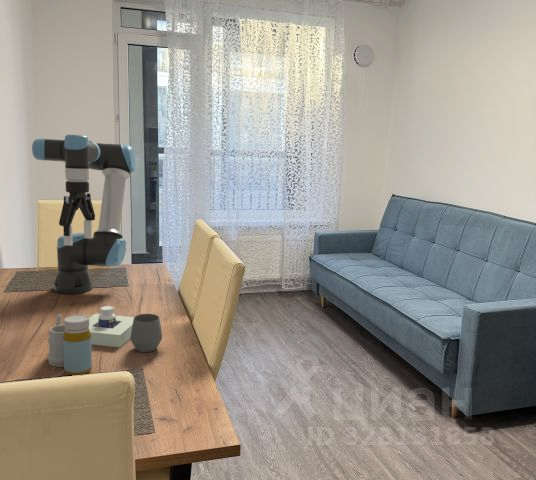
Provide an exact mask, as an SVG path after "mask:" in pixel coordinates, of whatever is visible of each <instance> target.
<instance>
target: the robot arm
mask: <svg viewBox="0 0 536 480" xmlns="http://www.w3.org/2000/svg"><path fill="white" fill-rule="evenodd" d="M31 152H32V155H33V157H34V159H36V160H39V161H44V162H45V161H51V162H52V161H53V162H60V163H61V162H62V163H64V165H65V166H64V169H65V170H64V173H65V180H66V181H65V191H66V193H69V195H68V196H67V195H65V196H63V204H62V209H61V212H60V217H59V221H58V226H60V227H63V228H62V229H63V230H62V231H63V235H61V236H59V237H58V238H57V241H56V243H57V245H56V249H57V250H56V251H57V252H56V253H57V255H56V256H57V273H56V277H55V279H54V283H53V291H54V292H55V293H59V294H64V295H74V294H82V293H87V292H90V291H91V290H92V289H93V286H94V285H93V281H92V277H91V276H90V272H89V266H92V267H108V268H110V267H119V266H120V265H121V264H122V263H123V261H124V259H125V256H126V251H127V247H126V246H127V241H126V239H124V238H123V237H124V236H123V234H122V233H121V231H120V229H121V221H122V213H123V204H124V196H125V189H126V180H127V179H129V178H130V176H131V173H134V172H135V170H136V158H135V152H134V149H133V147H132V146H131V145H128V144H122V143H121V144H118V143H116V144H115V143H99V142H98V143H97V142H94V141H91V140H89V137H88V136H87V135H84V134H83V135H81V134H66V135H65V136H64V139H52V138H37V139H34V141H32V145H31ZM89 169H90V170H95V171H101V173H102V175H103V176H104V183H103V189H102V196H101V197H102V198H101V206H100V213H99V220H98V221H99V222H98V228H97V230H95V231H94V232H93V221H95V220H96V214H95V210H94V207H93V203H92V198H91V197H92V196H91V193H90V182H89V180H90V170H89ZM79 209H80V212H81V214H82V216H83V218H84V220H83V232H77V233H73V226H71V225H72V222H73V220H74V217H75V215H76V212H77V211H78V210H79Z"/></svg>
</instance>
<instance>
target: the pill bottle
mask: <svg viewBox="0 0 536 480" xmlns="http://www.w3.org/2000/svg"><path fill="white" fill-rule="evenodd" d="M114 309H115V308H114V307H113V306H112V305H111V306H109V305H108V306H107V305H105V306H102V307H100V313H99V314H100V315H99V327H103V328H114V327H115V326H116V316H117V315H116V314H115V313H114V312H115V311H114ZM115 315H116V316H115Z"/></svg>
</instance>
